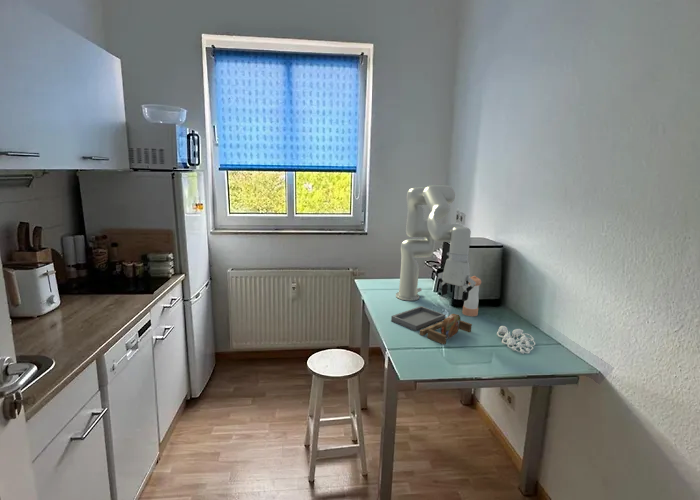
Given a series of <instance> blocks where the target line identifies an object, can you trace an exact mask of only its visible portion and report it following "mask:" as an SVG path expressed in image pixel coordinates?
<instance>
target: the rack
mask: <svg viewBox="0 0 700 500" xmlns="http://www.w3.org/2000/svg"><path fill="white" fill-rule="evenodd" d="M442 322H443V321H441V322H438V323H436V324H433V325H431V326H428V327H426V328H423V329H421V330H419V335H420V336H422V337H423V336H425V335H426V336H427V337H426V338H427V339H429V340H431V341H434V342H436V343H439V344H441V345H446V344H447V338H446V337H447V336H446V335H444V334H441V332H439V331H437V330H439V329H440V330H441V325H442ZM472 326H473V324H472V323H470V322H467V321H465V320H461V319H460V327H459V330H460V331H461V330H462V331H463V332H466V333H471V332H472V328H473V327H472Z"/></svg>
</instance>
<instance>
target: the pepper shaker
mask: <svg viewBox="0 0 700 500" xmlns="http://www.w3.org/2000/svg"><path fill="white" fill-rule="evenodd" d="M469 277H470V278H471V279H472V280H473V281H475V282H476V284H475V286H474V287H473V289H471V290H470V291H469V295H468V299H467V300H466V301H463V306H462V310H461V313H462V315H464V316H466V317H467V316H468V317H477V316H478V314H479V292H480V291H479V290H480V286H481V284H482V280H481V278H479V277H477V276H476V275H473V276H469ZM470 285H471V283H470V282H469V284H468V286H470Z"/></svg>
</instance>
